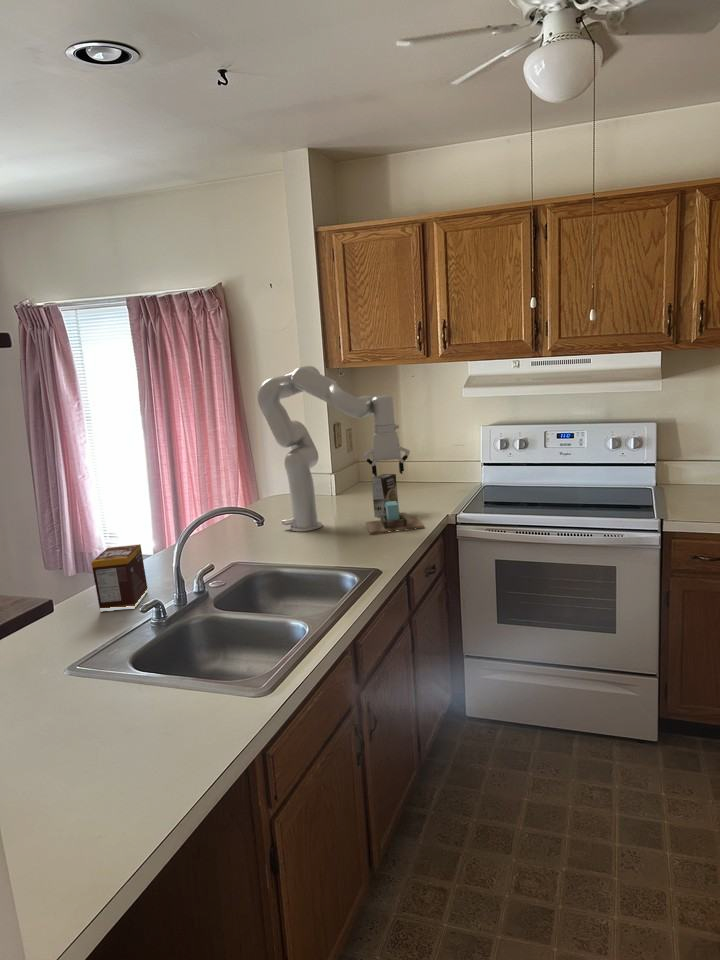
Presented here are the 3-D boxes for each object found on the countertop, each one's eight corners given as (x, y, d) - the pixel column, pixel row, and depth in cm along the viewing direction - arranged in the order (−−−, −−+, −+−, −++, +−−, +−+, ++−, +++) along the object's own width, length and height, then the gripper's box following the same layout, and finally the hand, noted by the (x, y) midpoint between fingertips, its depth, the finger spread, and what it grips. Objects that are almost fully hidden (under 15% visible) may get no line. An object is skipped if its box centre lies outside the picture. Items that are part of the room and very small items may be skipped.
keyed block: (387, 522, 276) (385, 502, 275) (397, 521, 277) (395, 500, 275) (389, 526, 269) (387, 505, 268) (400, 525, 270) (398, 504, 268)
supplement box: (148, 591, 224) (141, 543, 221) (135, 609, 209) (126, 558, 206) (115, 595, 224) (107, 547, 221) (99, 613, 209) (90, 561, 206)
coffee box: (387, 517, 287) (383, 478, 284) (374, 516, 291) (370, 477, 288) (399, 512, 294) (396, 473, 291) (387, 511, 298) (383, 473, 295)
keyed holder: (370, 534, 265) (369, 525, 264) (365, 524, 280) (364, 515, 280) (423, 528, 266) (422, 519, 266) (416, 518, 282) (415, 509, 281)
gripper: (406, 425, 271) (409, 470, 274) (360, 430, 269) (364, 475, 273) (409, 428, 263) (412, 474, 267) (362, 432, 262) (366, 478, 265)
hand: (388, 474), depth 270 cm, fingers open, 9 cm apart
